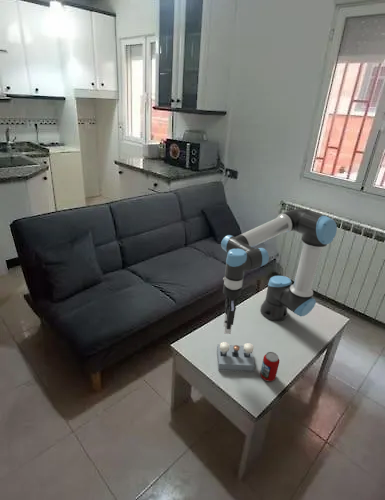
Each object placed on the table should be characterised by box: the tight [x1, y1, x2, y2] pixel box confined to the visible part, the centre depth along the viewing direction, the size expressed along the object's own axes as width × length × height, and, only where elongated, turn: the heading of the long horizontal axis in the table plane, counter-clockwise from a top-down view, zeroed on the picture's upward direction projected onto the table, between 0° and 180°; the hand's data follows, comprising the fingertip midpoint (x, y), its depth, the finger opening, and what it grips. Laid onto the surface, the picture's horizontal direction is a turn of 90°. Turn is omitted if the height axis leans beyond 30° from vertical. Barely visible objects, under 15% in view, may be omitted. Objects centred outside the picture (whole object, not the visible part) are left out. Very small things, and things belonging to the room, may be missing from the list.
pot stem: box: [233, 344, 240, 355], centre depth 142 cm, size 3×3×4 cm
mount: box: [216, 344, 256, 373], centre depth 144 cm, size 16×12×4 cm
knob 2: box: [243, 342, 255, 356], centre depth 142 cm, size 4×4×5 cm
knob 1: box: [219, 341, 231, 354], centre depth 142 cm, size 4×4×5 cm
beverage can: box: [260, 351, 280, 382], centre depth 135 cm, size 7×7×12 cm
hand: (226, 329), depth 136 cm, fingers open, 4 cm apart
